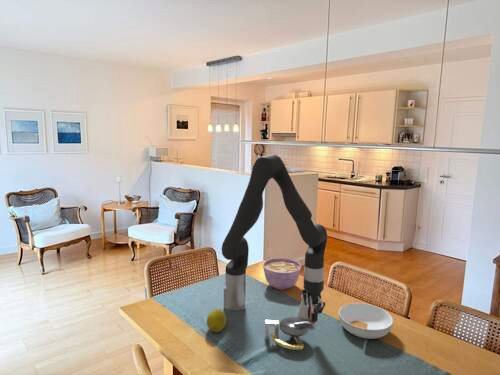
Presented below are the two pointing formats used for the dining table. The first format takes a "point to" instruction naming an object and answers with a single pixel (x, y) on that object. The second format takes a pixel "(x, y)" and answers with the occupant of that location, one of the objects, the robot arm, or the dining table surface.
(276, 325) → the grey arch-shaped block
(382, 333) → the serving bowl
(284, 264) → the bowl of food
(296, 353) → the dining table surface
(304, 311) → the flask
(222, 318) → the lemon
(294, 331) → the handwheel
